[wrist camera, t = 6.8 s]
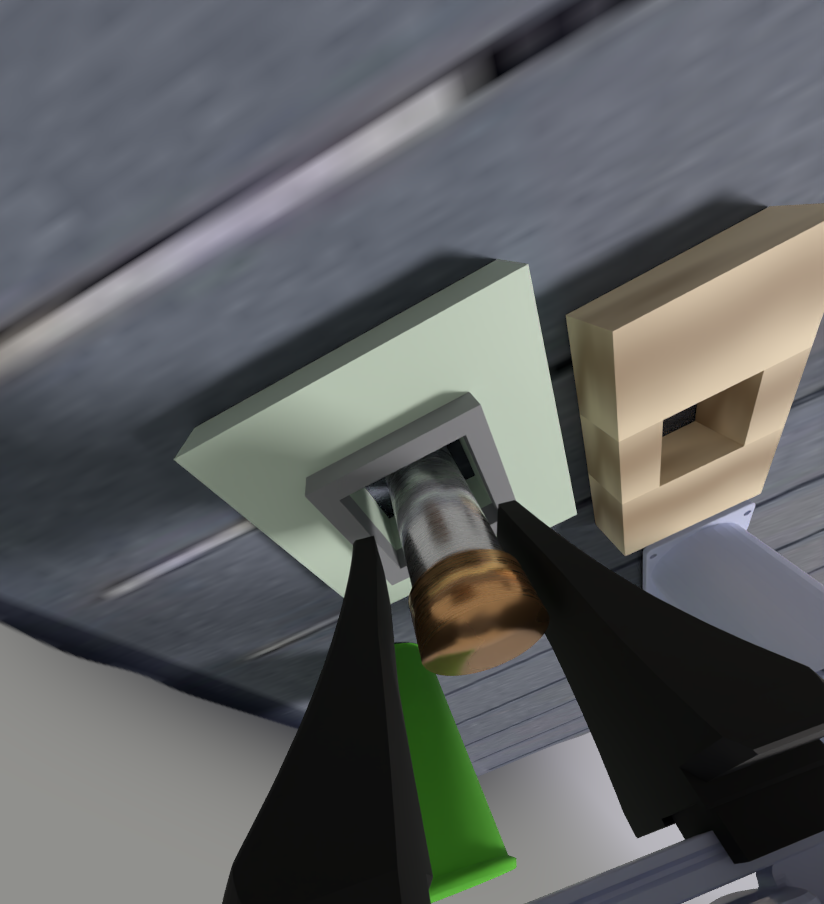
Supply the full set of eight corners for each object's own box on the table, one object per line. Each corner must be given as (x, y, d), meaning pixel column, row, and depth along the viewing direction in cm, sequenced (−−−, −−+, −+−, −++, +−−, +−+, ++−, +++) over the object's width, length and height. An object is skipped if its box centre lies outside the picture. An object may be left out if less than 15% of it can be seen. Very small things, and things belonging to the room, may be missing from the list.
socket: (554, 488, 18) (590, 529, 15) (362, 582, 19) (368, 635, 16) (497, 259, 11) (547, 267, 8) (194, 428, 12) (160, 479, 9)
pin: (462, 467, 15) (559, 638, 9) (399, 500, 16) (449, 687, 9) (435, 413, 13) (535, 582, 7) (363, 451, 14) (397, 646, 7)
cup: (387, 696, 28) (415, 910, 19) (305, 675, 23) (293, 951, 14) (471, 646, 26) (545, 857, 17) (402, 612, 21) (458, 883, 12)
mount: (716, 466, 20) (760, 493, 18) (595, 524, 21) (625, 556, 18) (769, 206, 12) (862, 200, 10) (565, 315, 12) (612, 331, 10)
